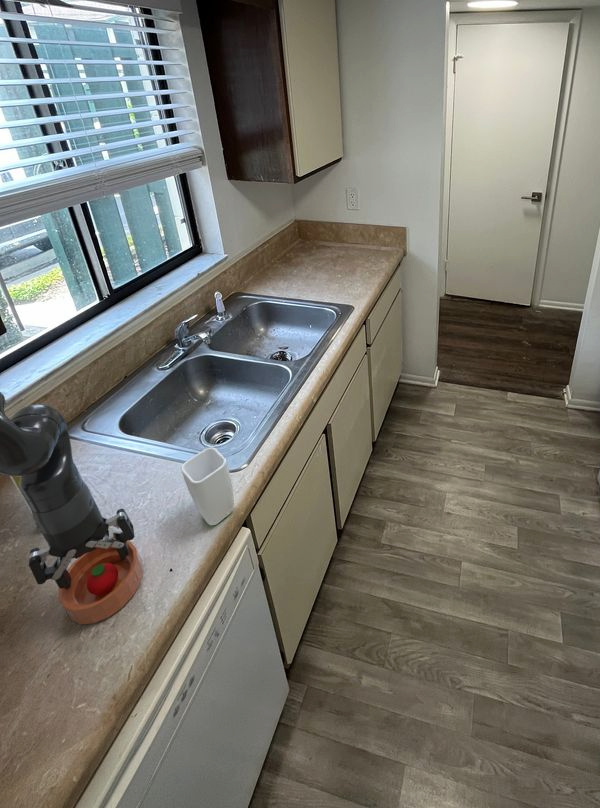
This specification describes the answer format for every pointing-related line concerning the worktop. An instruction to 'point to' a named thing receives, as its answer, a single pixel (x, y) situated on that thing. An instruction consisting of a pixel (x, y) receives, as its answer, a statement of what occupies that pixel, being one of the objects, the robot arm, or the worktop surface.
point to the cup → (209, 485)
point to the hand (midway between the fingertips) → (97, 570)
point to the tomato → (102, 578)
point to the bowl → (99, 607)
